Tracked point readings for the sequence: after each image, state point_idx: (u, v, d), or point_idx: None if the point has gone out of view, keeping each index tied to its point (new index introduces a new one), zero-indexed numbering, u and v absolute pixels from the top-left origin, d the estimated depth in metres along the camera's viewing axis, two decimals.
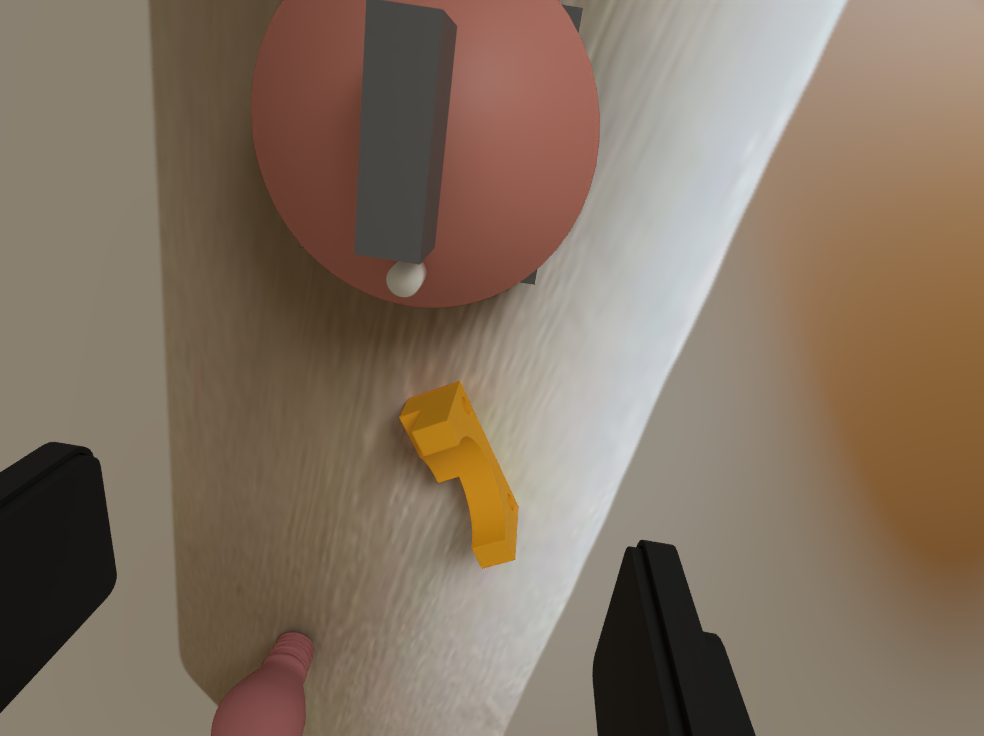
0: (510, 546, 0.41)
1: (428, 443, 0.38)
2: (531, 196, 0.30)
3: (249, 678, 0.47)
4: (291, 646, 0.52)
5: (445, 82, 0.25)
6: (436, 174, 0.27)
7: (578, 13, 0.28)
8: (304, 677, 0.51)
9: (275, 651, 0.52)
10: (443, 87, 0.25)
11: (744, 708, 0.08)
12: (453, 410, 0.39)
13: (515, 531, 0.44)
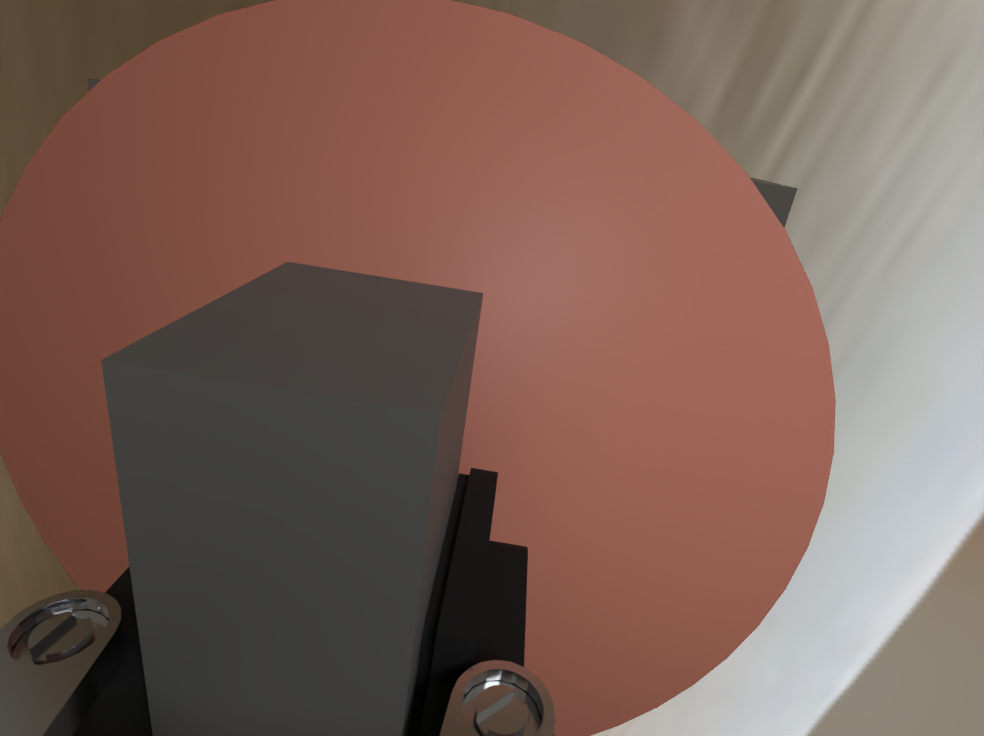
0: None
1: None
2: (645, 594, 0.13)
3: None
4: None
5: (448, 493, 0.08)
6: None
7: (784, 200, 0.11)
8: None
9: None
10: (442, 525, 0.08)
11: (525, 598, 0.09)
12: None
13: None
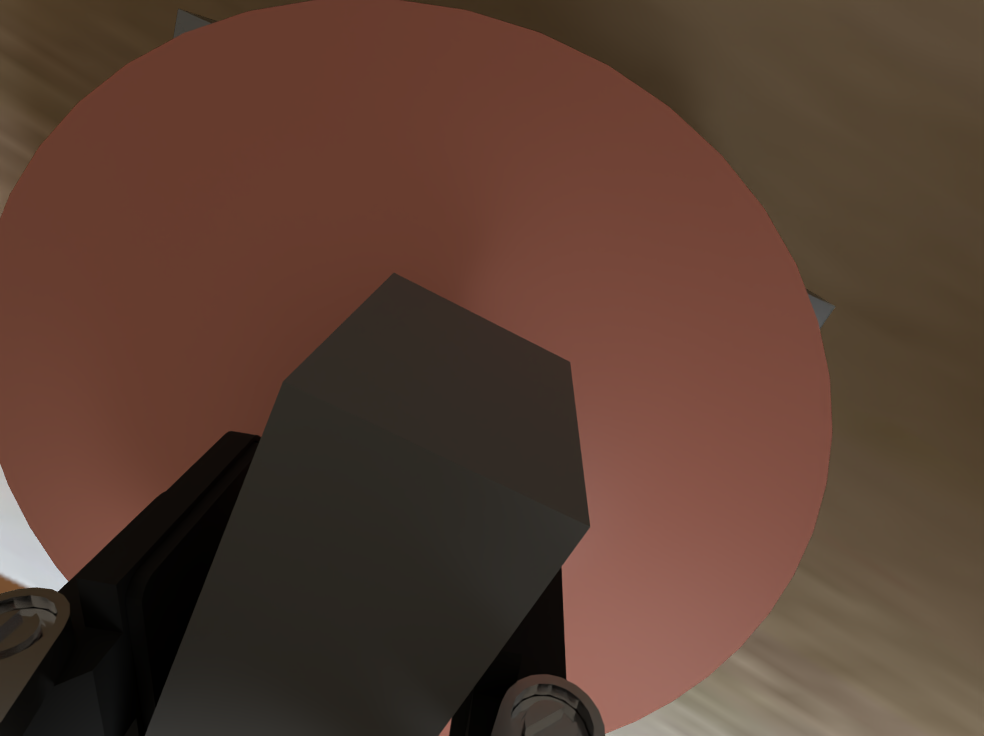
0: None
1: None
2: (585, 649, 0.14)
3: None
4: None
5: None
6: None
7: None
8: None
9: None
10: None
11: (562, 609, 0.09)
12: None
13: None
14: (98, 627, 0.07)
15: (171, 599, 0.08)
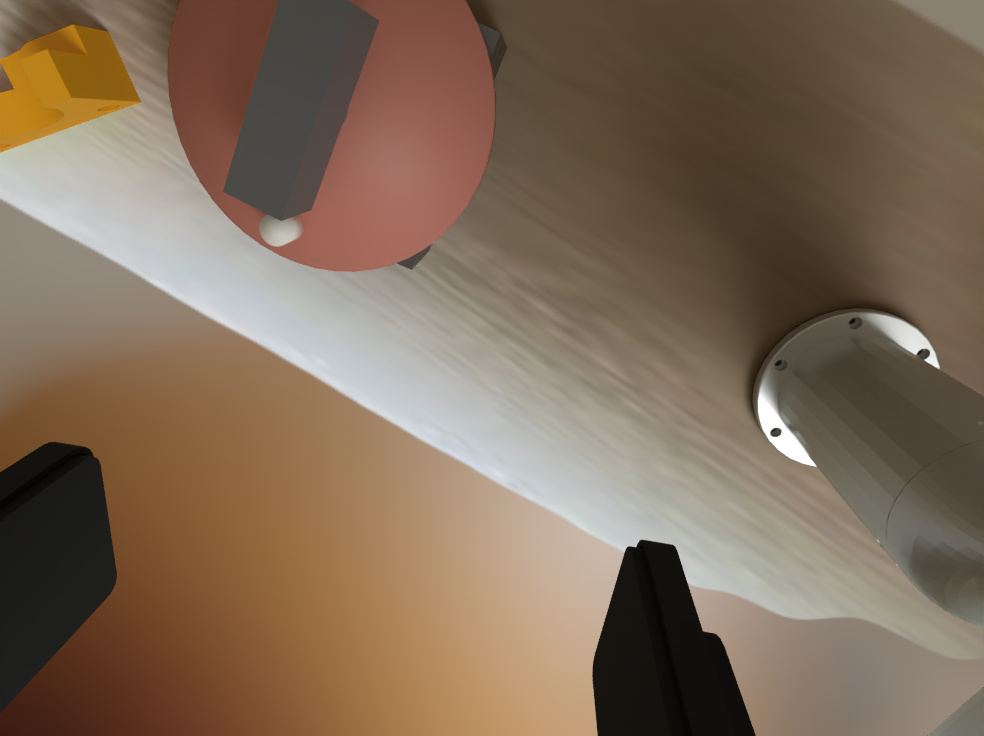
0: None
1: (37, 69, 0.33)
2: (415, 193, 0.33)
3: None
4: None
5: (350, 67, 0.27)
6: (323, 145, 0.29)
7: (408, 265, 0.36)
8: None
9: None
10: (346, 71, 0.27)
11: (744, 708, 0.08)
12: (91, 101, 0.35)
13: None
14: None
15: None
